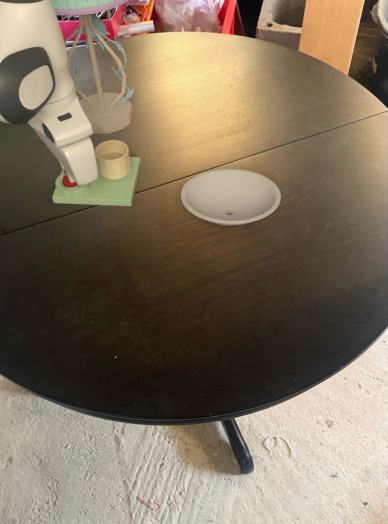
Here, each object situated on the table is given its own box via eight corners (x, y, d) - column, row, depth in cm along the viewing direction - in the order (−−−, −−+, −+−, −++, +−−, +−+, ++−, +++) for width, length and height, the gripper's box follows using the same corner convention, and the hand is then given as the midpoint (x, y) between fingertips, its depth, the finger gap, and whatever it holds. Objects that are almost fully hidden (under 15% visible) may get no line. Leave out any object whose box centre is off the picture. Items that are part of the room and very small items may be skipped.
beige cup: (96, 180, 92) (91, 160, 88) (102, 159, 95) (98, 139, 91) (128, 181, 91) (125, 161, 87) (133, 160, 95) (130, 140, 91)
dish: (179, 243, 84) (177, 221, 80) (184, 189, 92) (183, 167, 88) (279, 245, 83) (283, 224, 79) (275, 191, 91) (279, 169, 87)
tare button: (63, 191, 90) (60, 183, 88) (67, 180, 91) (64, 172, 90) (79, 192, 89) (77, 183, 88) (83, 181, 91) (81, 172, 89)
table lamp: (162, 94, 110) (143, -151, 76) (140, 151, 98) (106, -107, 65) (73, 87, 112) (17, -153, 79) (41, 142, 101) (-40, -112, 67)
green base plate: (53, 203, 90) (49, 190, 88) (69, 160, 97) (65, 147, 95) (131, 206, 89) (129, 193, 87) (141, 163, 96) (139, 150, 94)
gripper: (9, 84, 81) (34, 155, 93) (59, 144, 72) (79, 215, 83) (43, 72, 83) (63, 143, 94) (96, 130, 73) (111, 201, 85)
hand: (71, 177), depth 89 cm, fingers closed, pressing on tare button
